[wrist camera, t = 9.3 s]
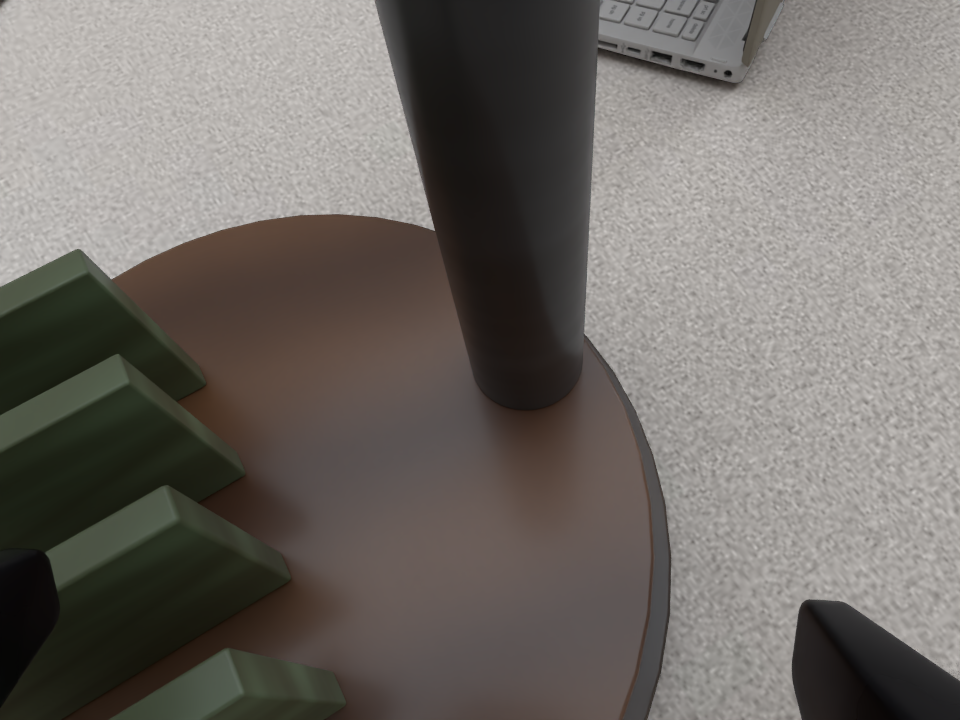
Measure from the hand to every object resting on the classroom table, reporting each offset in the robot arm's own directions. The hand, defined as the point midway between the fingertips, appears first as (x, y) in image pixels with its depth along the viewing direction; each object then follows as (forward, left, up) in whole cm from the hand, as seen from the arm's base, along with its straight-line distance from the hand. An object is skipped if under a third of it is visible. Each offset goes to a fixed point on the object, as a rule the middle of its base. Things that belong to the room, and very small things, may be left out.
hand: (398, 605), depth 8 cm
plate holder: (+2, +5, -7) cm, 9 cm away
